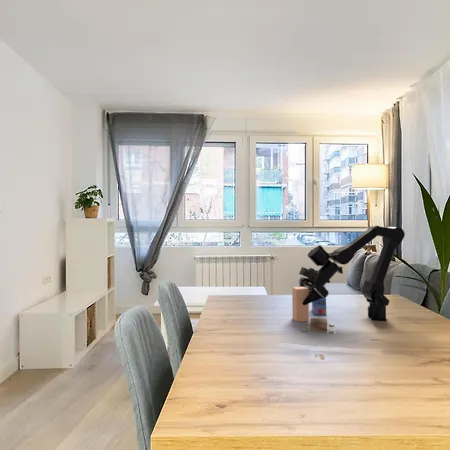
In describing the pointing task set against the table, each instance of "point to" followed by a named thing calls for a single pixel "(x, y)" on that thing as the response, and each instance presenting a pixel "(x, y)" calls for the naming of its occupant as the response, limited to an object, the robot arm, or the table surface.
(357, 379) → the table surface
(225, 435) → the table surface
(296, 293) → the tall brick
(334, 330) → the baseplate
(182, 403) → the table surface
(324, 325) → the short brick
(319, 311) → the ink cartridge box
